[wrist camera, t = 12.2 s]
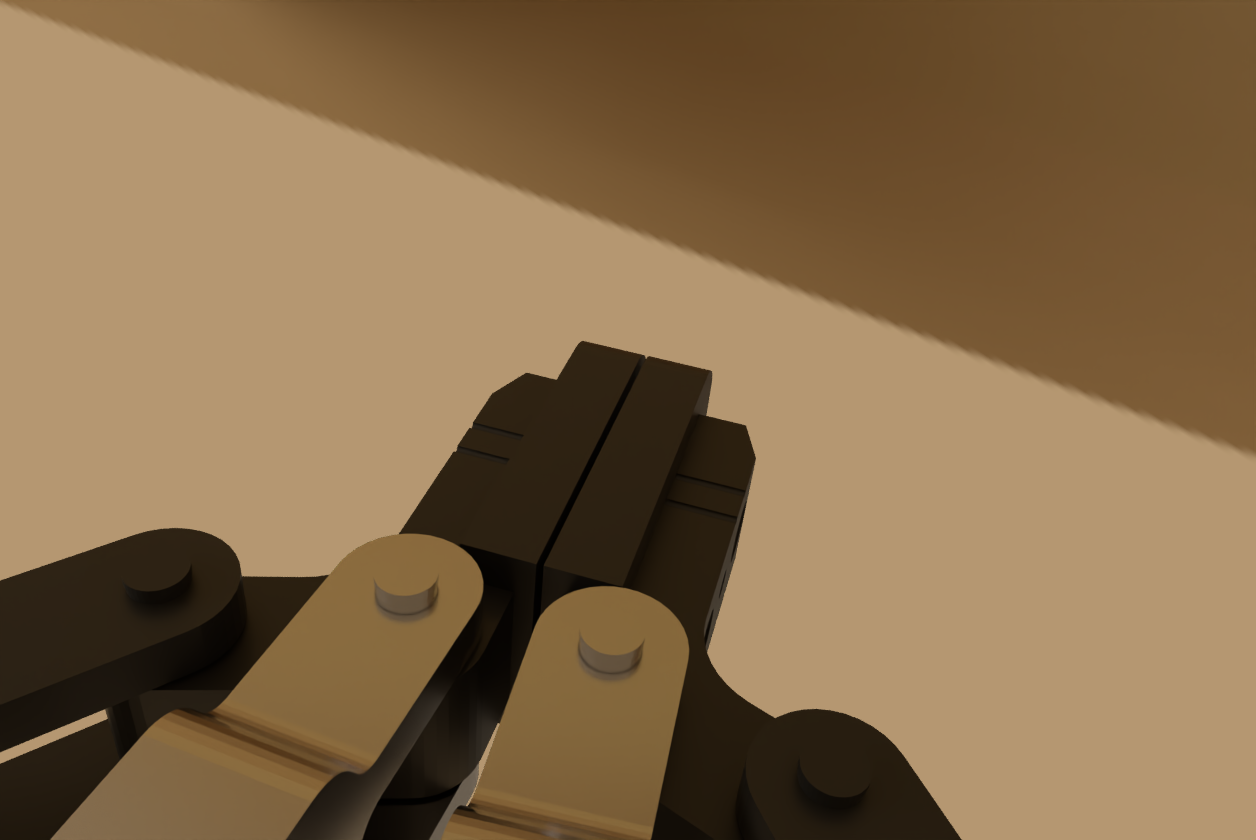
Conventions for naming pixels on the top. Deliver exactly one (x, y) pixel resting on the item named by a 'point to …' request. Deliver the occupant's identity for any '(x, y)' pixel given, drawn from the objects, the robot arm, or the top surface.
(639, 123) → the top surface
